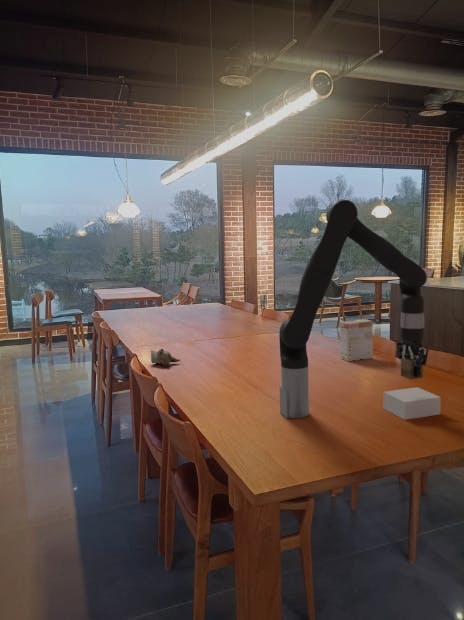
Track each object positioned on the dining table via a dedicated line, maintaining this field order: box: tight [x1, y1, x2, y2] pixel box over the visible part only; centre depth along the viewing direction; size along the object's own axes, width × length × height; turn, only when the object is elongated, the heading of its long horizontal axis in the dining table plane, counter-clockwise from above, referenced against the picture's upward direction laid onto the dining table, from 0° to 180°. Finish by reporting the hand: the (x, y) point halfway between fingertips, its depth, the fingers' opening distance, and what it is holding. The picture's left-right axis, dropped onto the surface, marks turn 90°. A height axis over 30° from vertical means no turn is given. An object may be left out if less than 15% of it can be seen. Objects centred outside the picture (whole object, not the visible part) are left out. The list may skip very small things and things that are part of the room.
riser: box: [382, 386, 442, 421], centre depth 161 cm, size 14×12×6 cm
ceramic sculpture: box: [150, 348, 181, 367], centre depth 239 cm, size 11×9×15 cm
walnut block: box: [400, 358, 424, 380], centre depth 159 cm, size 5×5×6 cm
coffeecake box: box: [339, 318, 374, 362], centre depth 237 cm, size 15×7×20 cm, turn 108°
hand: (411, 374), depth 160 cm, fingers closed on walnut block, 5 cm apart
